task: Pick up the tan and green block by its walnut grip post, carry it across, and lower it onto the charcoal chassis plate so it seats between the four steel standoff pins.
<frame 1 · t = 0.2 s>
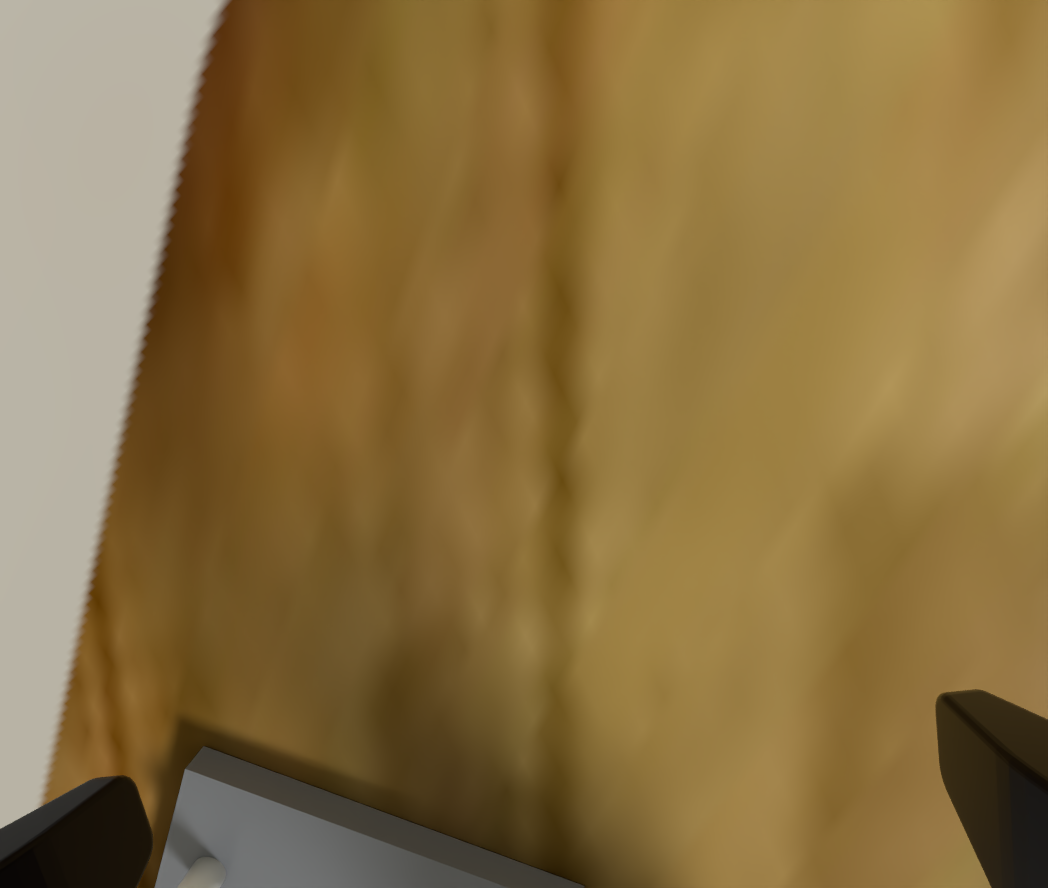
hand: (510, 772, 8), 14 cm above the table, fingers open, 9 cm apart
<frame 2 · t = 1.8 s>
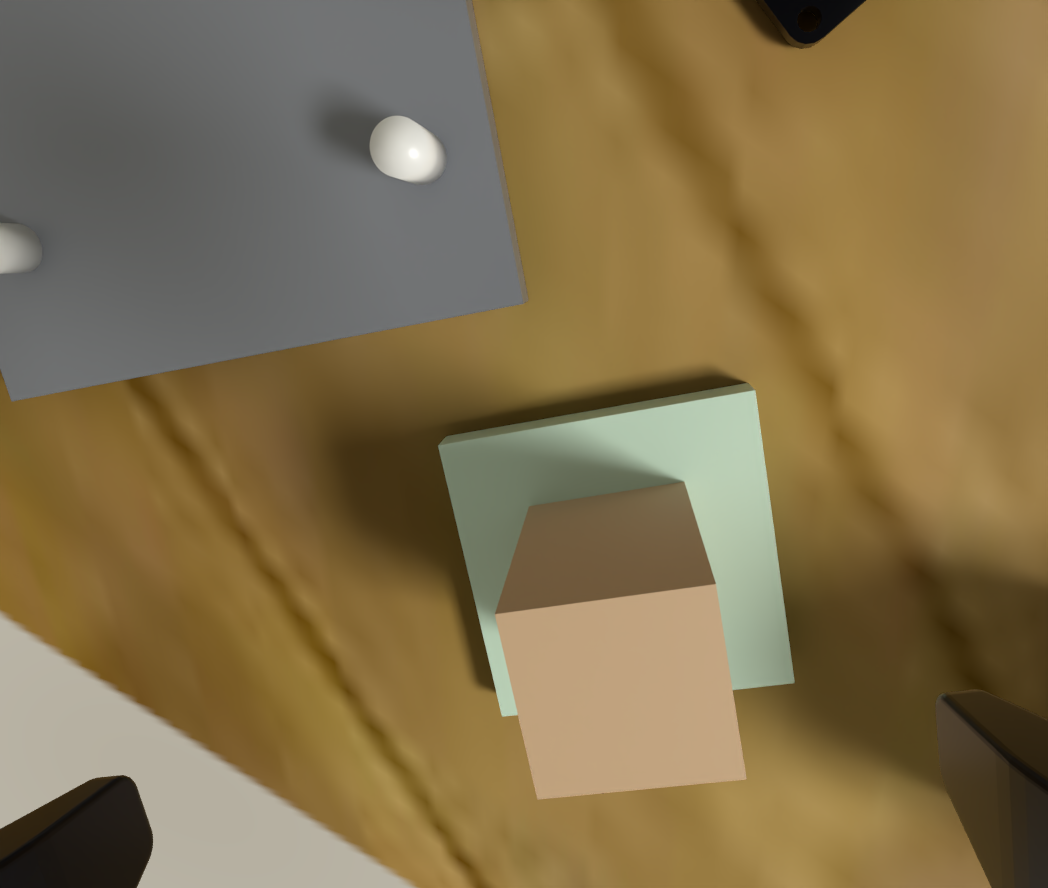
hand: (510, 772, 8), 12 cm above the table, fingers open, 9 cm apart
tan and green block: (618, 548, 21), on the table
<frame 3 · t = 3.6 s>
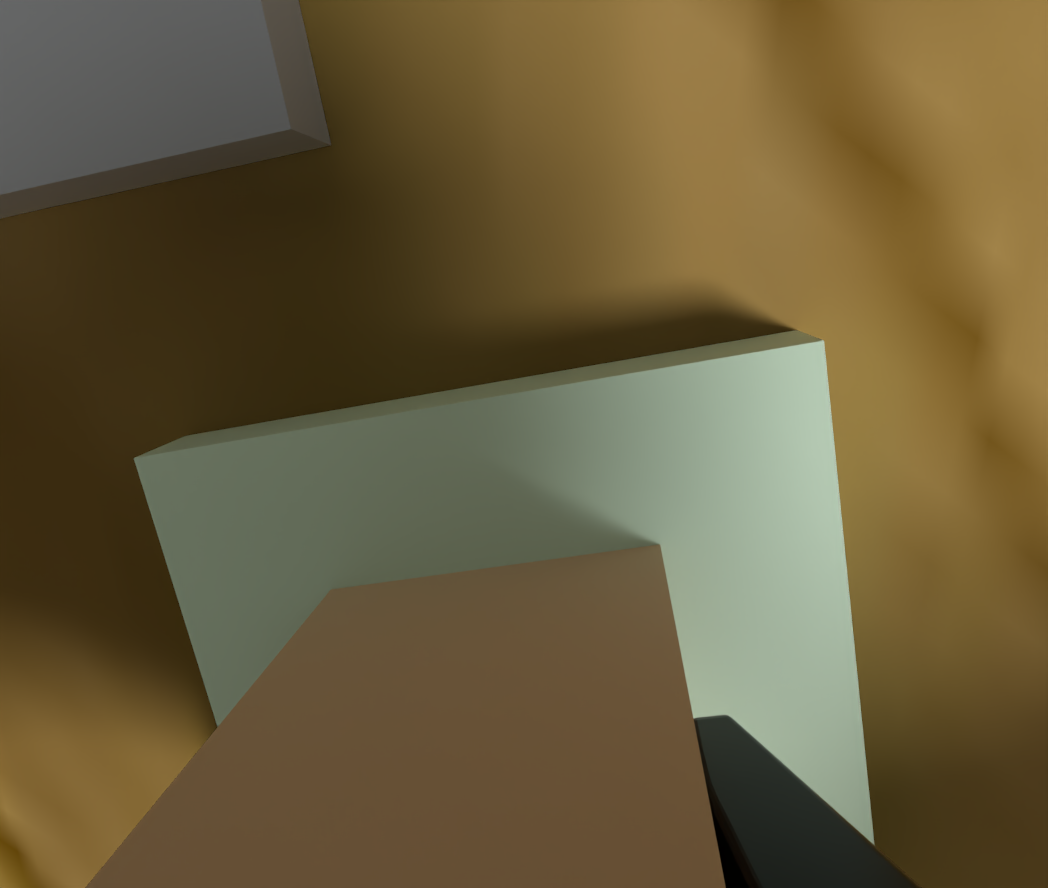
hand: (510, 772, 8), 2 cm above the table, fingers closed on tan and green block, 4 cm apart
tan and green block: (530, 666, 11), on the table, touching gripper
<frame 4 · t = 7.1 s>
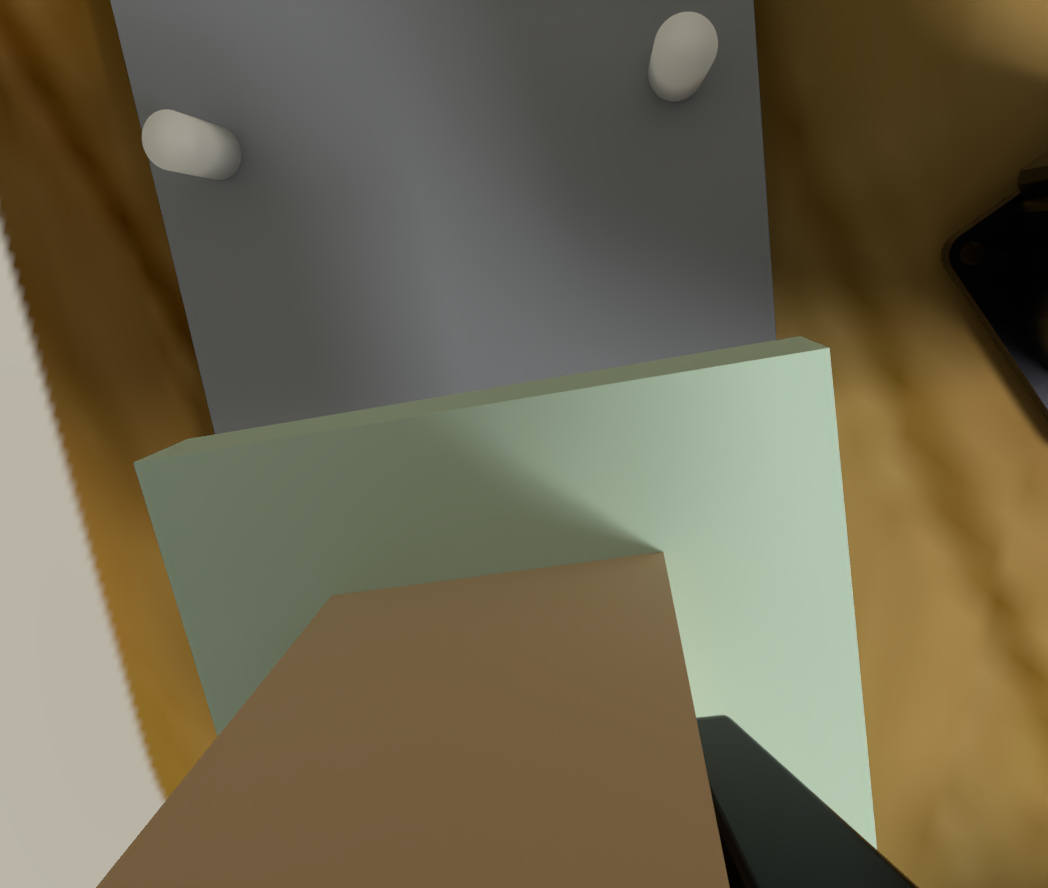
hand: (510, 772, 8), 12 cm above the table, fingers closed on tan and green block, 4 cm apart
tan and green block: (532, 672, 10), point 10 cm above the table, touching gripper
standoff plate: (481, 343, 19), on the table
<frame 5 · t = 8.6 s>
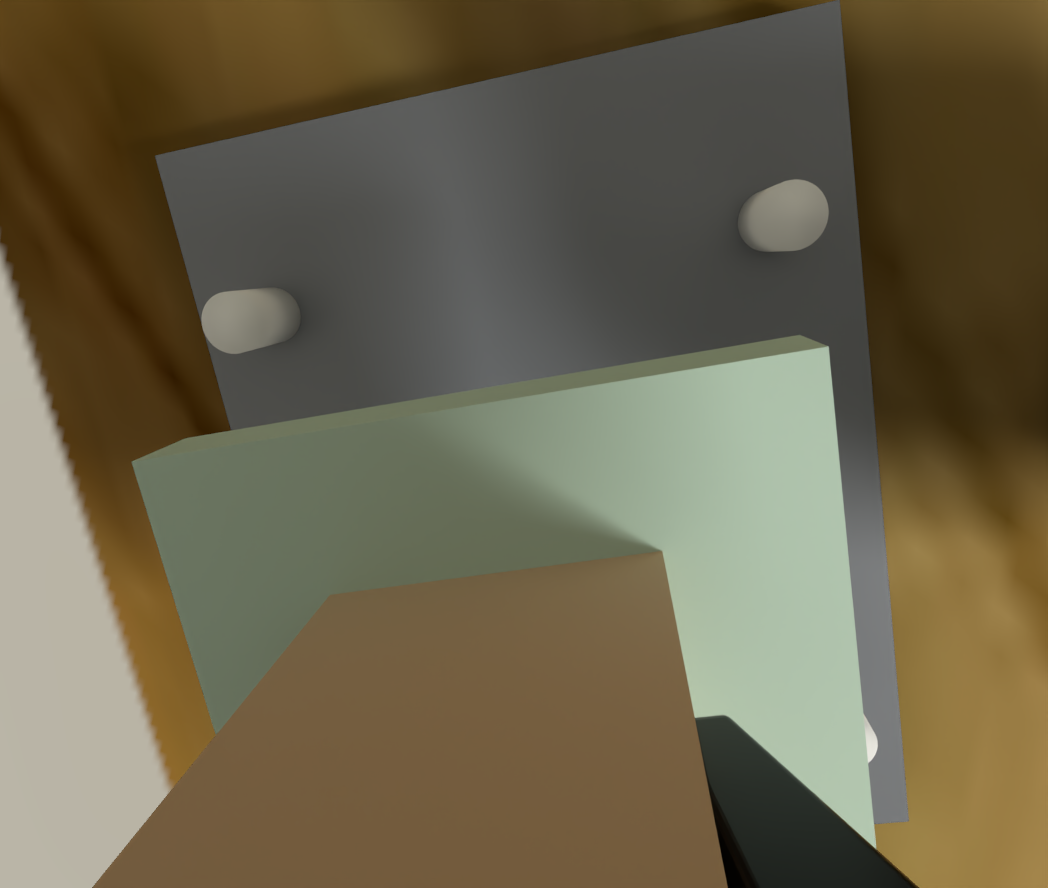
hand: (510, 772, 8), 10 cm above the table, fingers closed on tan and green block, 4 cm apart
tan and green block: (531, 671, 10), point 8 cm above the table, touching gripper
standoff plate: (556, 491, 18), on the table
when the fingers open (5 cm above the table, at t = 10.1 s): tan and green block drops 1 cm, resting on standoff plate.
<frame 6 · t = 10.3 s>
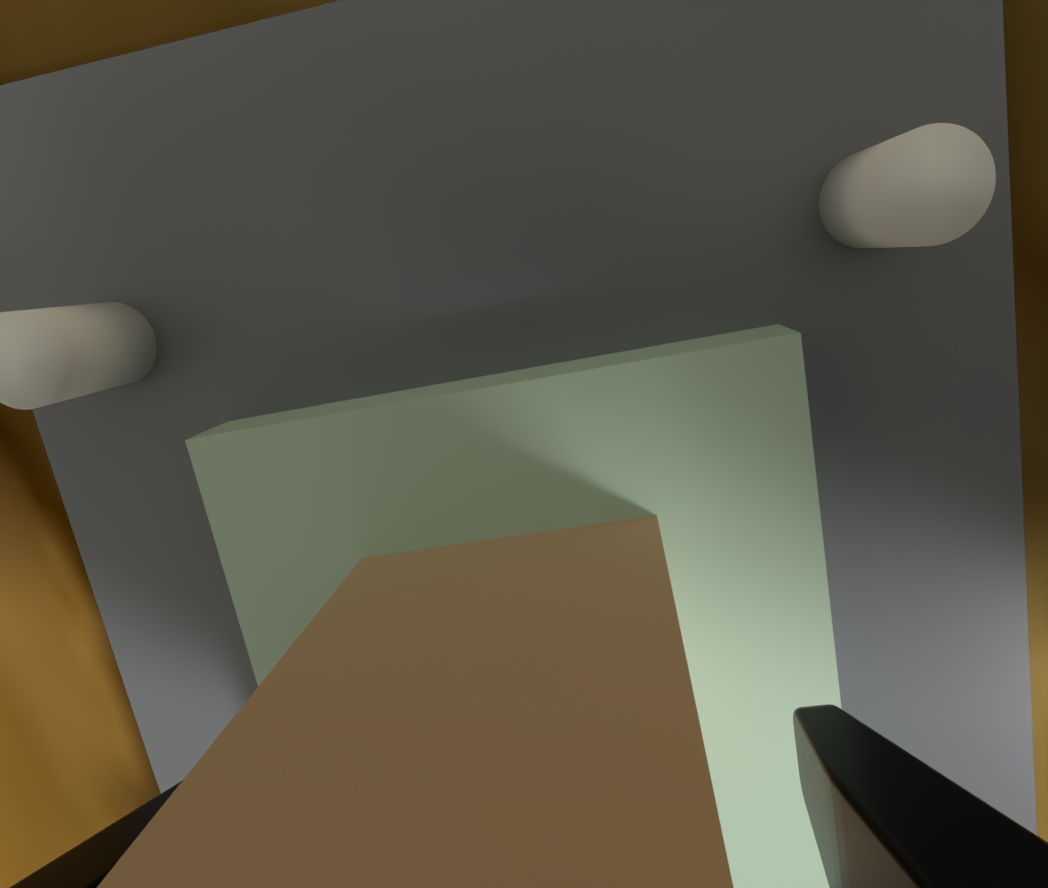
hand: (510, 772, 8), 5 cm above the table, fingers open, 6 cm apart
tan and green block: (540, 630, 12), point 1 cm above the table, touching standoff plate
standoff plate: (541, 592, 13), on the table
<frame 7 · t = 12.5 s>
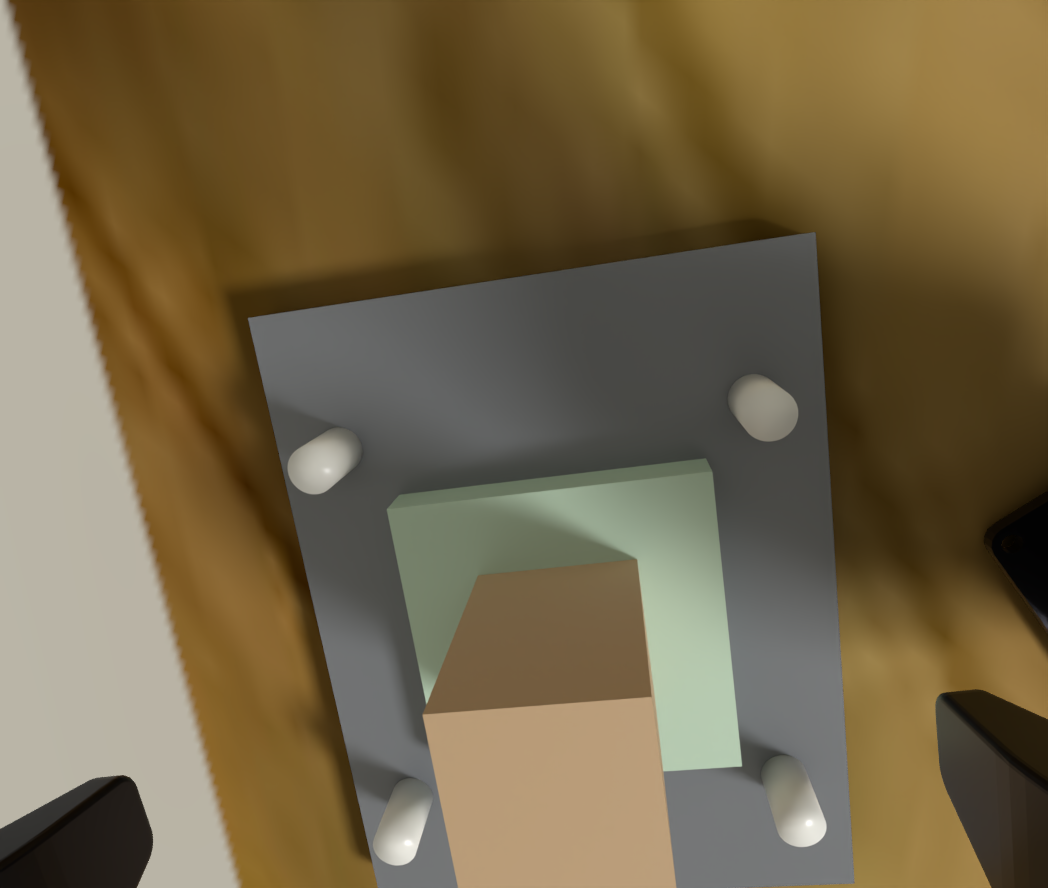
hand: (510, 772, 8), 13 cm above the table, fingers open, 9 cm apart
tan and green block: (569, 618, 20), point 1 cm above the table, touching standoff plate
standoff plate: (569, 596, 22), on the table
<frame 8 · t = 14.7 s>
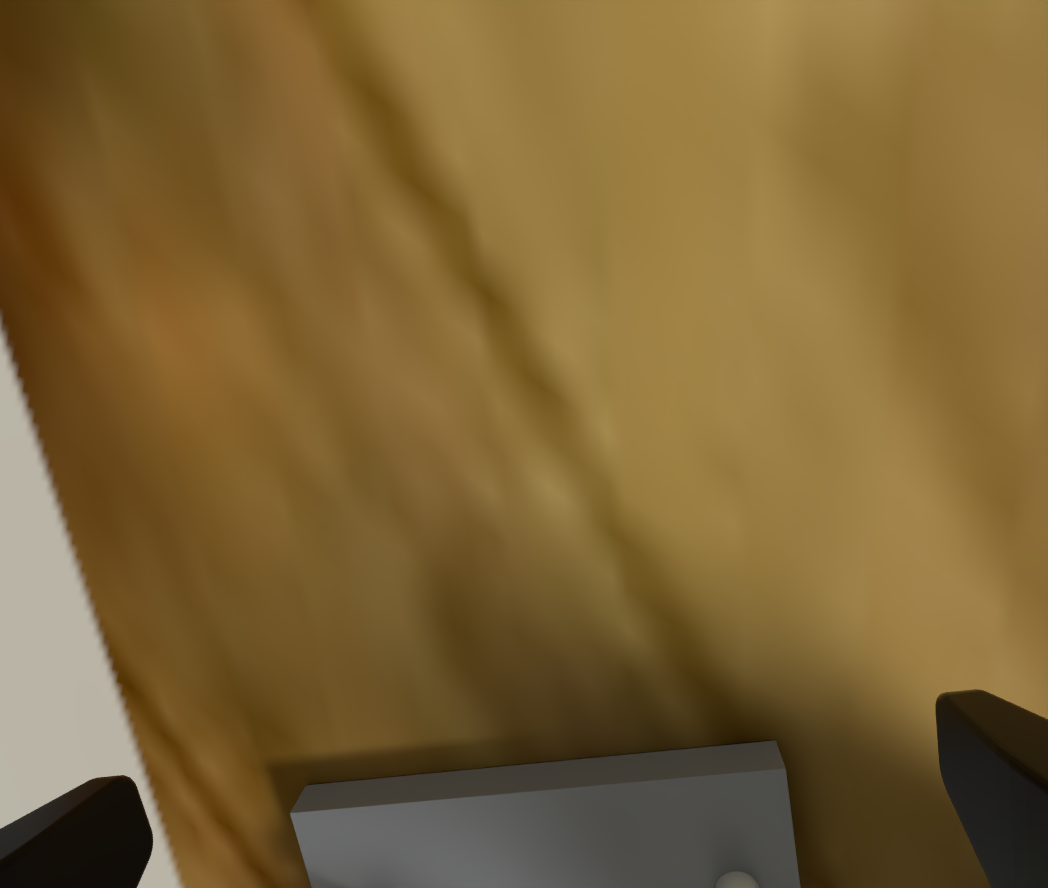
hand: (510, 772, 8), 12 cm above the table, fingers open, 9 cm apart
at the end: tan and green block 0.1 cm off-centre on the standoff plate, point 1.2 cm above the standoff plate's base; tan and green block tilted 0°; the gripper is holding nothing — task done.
